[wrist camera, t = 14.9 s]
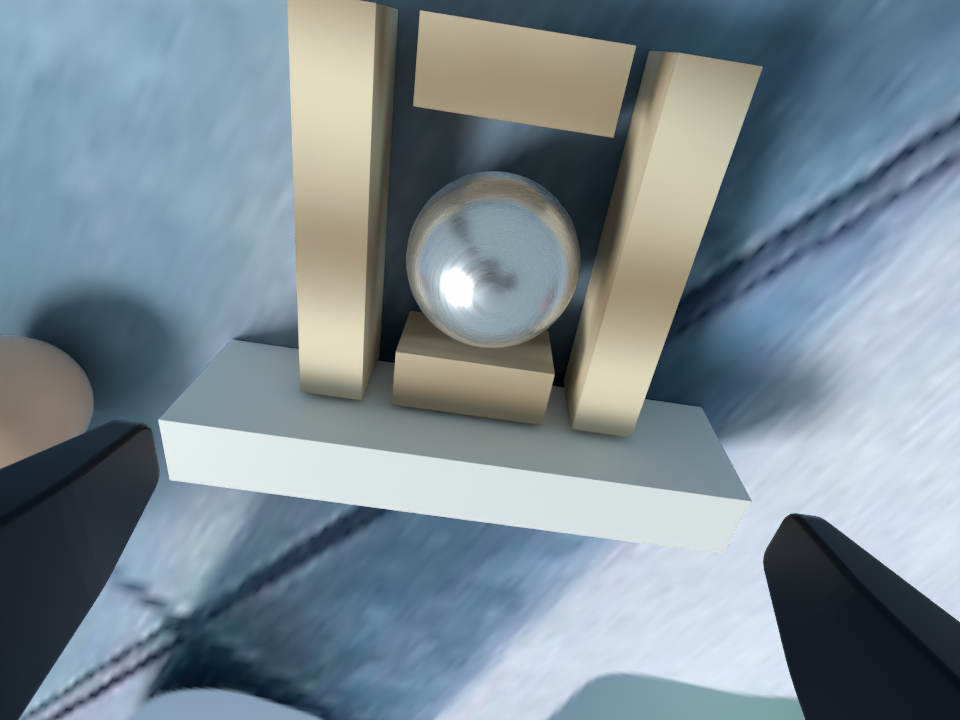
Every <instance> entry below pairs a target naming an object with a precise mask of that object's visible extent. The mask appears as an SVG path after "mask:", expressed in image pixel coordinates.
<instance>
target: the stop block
mask: <svg viewBox="0 0 960 720" xmlns="http://www.w3.org/2000/svg"><path fill="white" fill-rule="evenodd" d="M394 369H395V363H392V362H385V361H378V360H377V363H376V365H375V368H374V370H373V373H372V375H371V378H370V380H369V383H368V385H367V388H366V390H365V393H364V395H363V398H362V400H357V399H349V398H342V397H335V396H328V395H320V394H313V393H306V392H300V366H299V349H295V348H288V347H281V346H274V345H267V344H260V343H253V342H246V341H239V340H232V339H231V341H230V342H229V343H228V344H227V345H226V346H225V347H224V348H223V349H222V350H221V352H220V353H219V354H218V355H217V356H216V357H215V358H214V359H213V360H212V361H211V362H210V364H209V365H208V366H207V367H206V368H205V369H204V370H203V371H202V372H201V373H200V374H199V376H198V377H197V378H196V379H195V380H194V381H193V382H192V383H191V384H190V385H189V386H188V388H187V389H186V390H185V391H184V392H183V393H182V394H181V395H180V396H179V397H178V399H177V400H176V401H175V402H174V403H173V404H172V405H171V406H170V407H169V408H168V409H167V411H166V412H165V413H164V414H163V415H162V416H161V417H160V418H159V419H158V421H159V426H160V432H161V437H162V442H163V447H164V452H165V458H166V463H167V468H168V473H169V478H170V480H173V481H181V482H188V483H196V484H203V485H210V486H218V487H225V488H233V489H240V490H248V491H255V492H263V493H270V494H278V495H285V496H293V497H300V498H307V499H315V500H322V501H330V502H337V503H345V504H352V505H360V506H367V507H375V508H382V509H390V510H397V511H404V512H412V513H419V514H427V515H434V516H442V517H449V518H457V519H464V520H472V521H479V522H487V523H494V524H502V525H509V526H516V527H524V528H531V529H539V530H546V531H554V532H561V533H569V534H576V535H584V536H591V537H599V538H606V539H613V540H621V541H628V542H636V543H643V544H651V545H658V546H666V547H673V548H681V549H688V550H696V551H703V552H710V553H718V554H723V553H724V552H725V550H726V548H727V546H728V544H729V542H730V541H731V539H732V537H733V535H734V533H735V531H736V530H737V528H738V526H739V524H740V522H741V520H742V519H743V517H744V515H745V513H746V511H747V509H748V508H749V506H750V504H751V502H752V501H751V499H750V497H749V495H748V493H747V492H746V490H745V488H744V486H743V484H742V482H741V480H740V479H739V477H738V475H737V473H736V471H735V469H734V467H733V465H732V464H731V462H730V460H729V458H728V456H727V454H726V452H725V450H724V449H723V447H722V445H721V443H720V441H719V439H718V437H717V435H716V434H715V432H714V430H713V428H712V426H711V424H710V422H709V420H708V419H707V417H706V415H705V413H704V411H703V409H702V407H697V406H690V405H683V404H676V403H669V402H662V401H655V400H648V399H644V402H643V405H642V408H641V411H640V413H639V416H638V419H637V422H636V425H635V427H634V430H633V433H632V436H631V437H625V436H618V435H611V434H603V433H596V432H589V431H582V430H574V429H572V427H571V421H570V415H569V409H568V403H567V397H566V391H565V387H558V386H552V388H551V392H550V396H549V400H548V404H547V408H546V412H545V416H544V420H543V424H542V425H538V424H531V423H524V422H516V421H509V420H502V419H495V418H487V417H480V416H473V415H465V414H458V413H451V412H444V411H436V410H429V409H422V408H415V407H407V406H400V405H393V404H392V397H393V383H394Z"/></svg>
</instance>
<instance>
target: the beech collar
mask: <svg viewBox="0 0 960 720" xmlns="http://www.w3.org/2000/svg"><path fill="white" fill-rule="evenodd" d="M397 26H398V9H395V8H392V7H388V6H385V5H381V4H378V3H373V2H367V1H361V0H288V29H289V59H290V90H291V121H292V152H293V182H294V213H295V244H296V274H297V305H298V336H299V366H300V392H306V393H313V394H320V395H328V396H335V397H342V398H349V399H357V400H362V398H363V395H364V393H365V390H366V388H367V385H368V383H369V380H370V378H371V375H372V373H373V370H374V368H375V365H376V363H377V360H378V358H379V355H380V340H381V322H382V303H383V285H384V266H385V248H386V229H387V211H388V192H389V174H390V155H391V137H392V118H393V100H394V81H395V63H396V44H397ZM635 49H636V46H635V45H629V44H623V43H617V42H611V41H604V40H598V39H592V38H586V37H580V36H574V35H568V34H562V33H556V32H550V31H544V30H537V29H531V28H525V27H519V26H513V25H507V24H501V23H495V22H489V21H483V20H476V19H470V18H464V17H458V16H452V15H446V14H440V13H434V12H428V11H422V10H420V17H419V31H418V45H417V59H416V73H415V87H414V101H413V106H415V107H421V108H428V109H434V110H441V111H447V112H453V113H460V114H466V115H472V116H479V117H485V118H491V119H498V120H504V121H510V122H517V123H523V124H529V125H536V126H542V127H548V128H555V129H561V130H567V131H574V132H580V133H586V134H593V135H599V136H605V137H612V138H614V133H615V129H616V125H617V121H618V117H619V113H620V109H621V105H622V101H623V97H624V93H625V89H626V85H627V81H628V77H629V73H630V69H631V65H632V61H633V57H634V53H635ZM762 68H763V66H757V65H751V64H745V63H739V62H732V61H726V60H720V59H714V58H708V57H702V56H696V55H690V54H684V53H676V52H662V51H649V53H648V57H647V61H646V65H645V69H644V73H643V77H642V80H641V84H640V88H639V92H638V96H637V100H636V104H635V107H634V111H633V115H632V119H631V123H630V127H629V131H628V134H627V138H626V142H625V146H624V150H623V154H622V158H621V161H620V165H619V169H618V173H617V177H616V181H615V185H614V188H613V192H612V196H611V200H610V204H609V208H608V212H607V215H606V219H605V223H604V227H603V231H602V235H601V239H600V242H599V246H598V250H597V254H596V258H595V262H594V266H593V269H592V273H591V277H590V281H589V285H588V289H587V293H586V296H585V300H584V304H583V308H582V312H581V316H580V320H579V323H578V327H577V331H576V335H575V339H574V343H573V346H572V350H571V354H570V358H569V362H568V366H567V370H566V373H565V377H564V386H565V391H566V397H567V403H568V409H569V415H570V421H571V427H572V429H574V430H582V431H589V432H596V433H603V434H611V435H618V436H625V437H631V436H632V433H633V430H634V427H635V425H636V422H637V419H638V416H639V413H640V411H641V408H642V405H643V402H644V399H645V397H646V394H647V391H648V388H649V385H650V383H651V380H652V377H653V374H654V371H655V369H656V366H657V363H658V360H659V357H660V354H661V352H662V349H663V346H664V343H665V340H666V338H667V335H668V332H669V329H670V326H671V324H672V321H673V318H674V315H675V312H676V310H677V307H678V304H679V301H680V298H681V296H682V293H683V290H684V287H685V284H686V281H687V279H688V276H689V273H690V270H691V267H692V265H693V262H694V259H695V256H696V253H697V251H698V248H699V245H700V242H701V239H702V237H703V234H704V231H705V228H706V225H707V223H708V220H709V217H710V214H711V211H712V209H713V206H714V203H715V200H716V197H717V194H718V192H719V189H720V186H721V183H722V180H723V178H724V175H725V172H726V169H727V166H728V164H729V161H730V158H731V155H732V152H733V150H734V147H735V144H736V141H737V138H738V136H739V133H740V130H741V127H742V124H743V121H744V119H745V116H746V113H747V110H748V107H749V105H750V102H751V99H752V96H753V93H754V91H755V88H756V85H757V82H758V79H759V77H760V74H761V71H762ZM554 376H555V372H554V366H553V359H552V352H551V345H550V339H549V332H548V330H545V331H544V332H542V333H541V334H539V335H538V336H536V337H534V338H532V339H531V340H528V341H526V342H524V343H521V344H518V345H514V346H510V347H504V348H481V347H476V346H471V345H468V344H465V343H462V342H460V341H458V340H455V339H453V338H451V337H450V336H448V335H446V334H445V333H443V332H442V331H441V330H439V329H438V328H437V327H436V326H435V325H434V324H433V323H432V322H430V321H429V319H428V318H427V317H426V316H425V314H424V313H423V312H417V311H410V313H409V316H408V318H407V321H406V324H405V327H404V330H403V333H402V335H401V338H400V341H399V344H398V347H397V350H396V355H395V369H394V383H393V397H392V404H393V405H400V406H407V407H415V408H422V409H429V410H436V411H444V412H451V413H458V414H465V415H473V416H480V417H487V418H495V419H502V420H509V421H516V422H524V423H531V424H538V425H542V424H543V420H544V416H545V412H546V408H547V404H548V400H549V396H550V392H551V388H552V384H553V380H554Z"/></svg>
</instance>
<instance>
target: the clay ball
mask: <svg viewBox="0 0 960 720" xmlns="http://www.w3.org/2000/svg"><path fill="white" fill-rule="evenodd" d="M93 408H94V397H93V390H92V387H91V384H90V381H89V379H88V377H87V375H86V374H85V372H84V370H83V369H82V368H81V367H80V365H79V364H78V363H77V362H76V361H75V360H74V359H73V358H72V357H70V356H69V355H68V354H67V353H65V352H64V351H62V350H61V349H59V348H57V347H55V346H53V345H51V344H49V343H46V342H44V341H41V340H37V339H34V338H30V337H25V336H17V335H0V469H1V468H3V467H6V466H8V465H10V464H13V463H15V462H17V461H20V460H22V459H24V458H27V457H29V456H31V455H34V454H36V453H38V452H41V451H43V450H45V449H48V448H50V447H52V446H55V445H57V444H59V443H62V442H64V441H66V440H69V439H71V438H73V437H76V436H78V435H81V434H83V433H85V432H86V431H87V429H88V426H89V424H90V421H91V419H92V414H93Z"/></svg>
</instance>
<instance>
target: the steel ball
mask: <svg viewBox="0 0 960 720" xmlns="http://www.w3.org/2000/svg"><path fill="white" fill-rule="evenodd" d="M406 269H407V276H408V281H409V284H410V288H411V291H412V294H413V296H414V298H415V300H416V302H417V304H418V305H419V307H420V309H421V310H422V312H423V313H424V314H425V316H426V317H427V318H428V319H429V321H430V322H432V323H433V324H434V325H435V326H436V327H437V328H438V329H439V330H441V331H442V332H443V333H445V334H446V335H448V336H450V337H451V338H453V339H455V340H458V341H460V342H462V343H465V344H468V345H471V346H476V347H481V348H504V347H510V346H514V345H518V344H521V343H524V342H526V341H528V340H531V339H532V338H534V337H536V336H538V335H539V334H541V333H542V332H544V331H545V330H546V329H548V328H549V327H550V326H551V325H552V324H553V323H554V322H555V321H556V320H557V319H558V318H559V317H560V316H561V314H562V313H563V312H564V310H565V309H566V307H567V306H568V304H569V302H570V300H571V298H572V296H573V294H574V292H575V288H576V285H577V282H578V277H579V272H580V246H579V242H578V238H577V233H576V230H575V227H574V225H573V222H572V220H571V218H570V217H569V215H568V213H567V211H566V210H565V209H564V207H563V206H562V205H561V203H560V202H559V201H558V200H557V198H556V197H555V196H553V195H552V194H551V193H550V192H549V191H548V190H547V189H545V188H544V187H543V186H541V185H540V184H538V183H536V182H534V181H533V180H531V179H529V178H526V177H523V176H521V175H518V174H513V173H509V172H500V171H486V172H479V173H474V174H470V175H467V176H464V177H461V178H459V179H457V180H455V181H453V182H451V183H449V184H447V185H446V186H444V187H443V188H441V189H440V190H439V191H438V192H437V193H435V194H434V195H433V196H432V197H431V198H430V199H429V201H428V202H427V203H426V204H425V205H424V207H423V208H422V210H421V211H420V213H419V215H418V216H417V218H416V220H415V222H414V224H413V226H412V229H411V232H410V235H409V239H408V245H407V251H406Z"/></svg>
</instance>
